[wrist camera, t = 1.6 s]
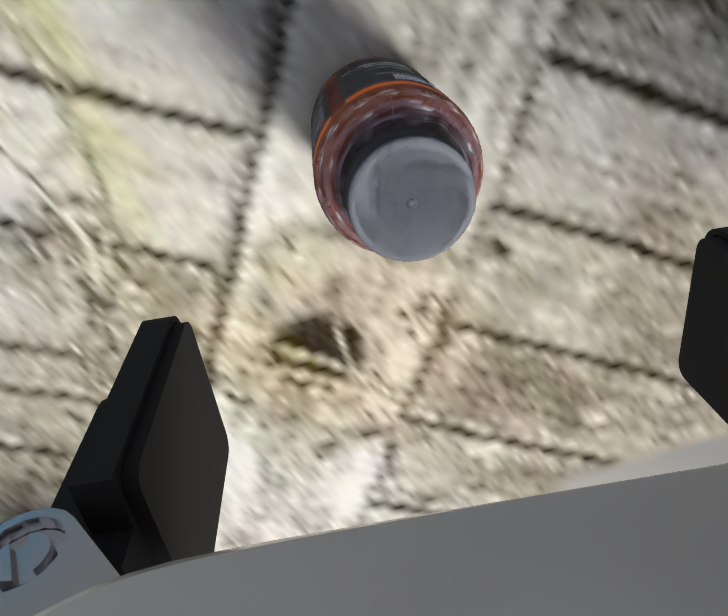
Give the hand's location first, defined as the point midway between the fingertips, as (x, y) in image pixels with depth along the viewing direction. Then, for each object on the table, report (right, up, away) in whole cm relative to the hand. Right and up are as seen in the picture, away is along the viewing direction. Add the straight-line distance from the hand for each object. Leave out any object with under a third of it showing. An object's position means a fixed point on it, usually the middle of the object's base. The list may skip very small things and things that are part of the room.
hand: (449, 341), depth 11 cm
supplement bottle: (-1, +9, +17) cm, 19 cm away
